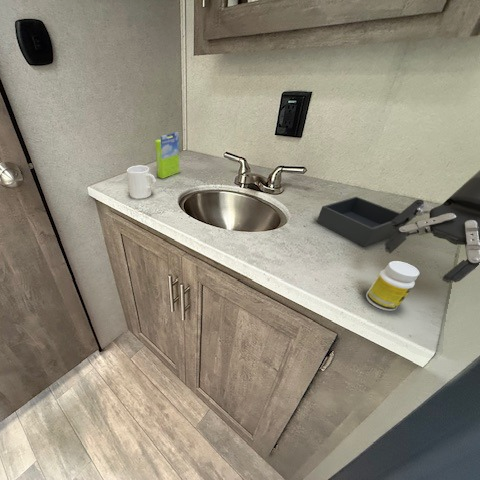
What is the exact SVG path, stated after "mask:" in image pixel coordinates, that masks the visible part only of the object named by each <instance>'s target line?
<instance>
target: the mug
mask: <svg viewBox="0 0 480 480" xmlns="http://www.w3.org/2000/svg"><path fill="white" fill-rule="evenodd" d="M150 171H151V169H150V167H149V166H147V165H144V164H143V165H142V164H141V165H133V166H129V167H128V168H126V176H127V182H128V189H129V195H130V197H131V198H132V199H137V200H138V199H139V200H140V199H141V200H142V199H146V198H148V197H150V196H151V195H152V189H153V188H155V186H156V183H157V180H156V177H155V176H154V175H153V174H152V173H151V172H150ZM151 180H152V181H151ZM151 182H152V183H151Z"/></svg>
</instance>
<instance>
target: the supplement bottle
mask: <svg viewBox="0 0 480 480" xmlns="http://www.w3.org/2000/svg"><path fill="white" fill-rule="evenodd" d="M419 276H420V270H419V269H418V268H417V267H415V266H414V265H412V264H410V263H407V262H405V261H400V260H391V261H390V262H388V264H387V265H386V267H385V268H383V269H381V270H380V271H379V273H378V275H377V276H376V278H375V279H374V281H373V283H372V284H371V285H370V287H369V289H368V290H367V292H366V294H365V297H366V300H367V301H368V302H369V304H371V305H372V306H374V307H376V308H377V309H380V310H383V311H389V312H393V311H395V310H397V309H398V308H399V307H400V305H401V304H402V303H403V301H404V300H405V299H406V297H408V295H409V294H410V292H411V291H412V290H413V289H414V287H415V285H416V280H417V279H418V277H419Z"/></svg>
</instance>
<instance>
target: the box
mask: <svg viewBox="0 0 480 480" xmlns="http://www.w3.org/2000/svg"><path fill="white" fill-rule="evenodd" d="M179 134H180V132H179V131H176V132H173V133H169V134H163V135H160V139H155V140H154V143H155V144H154V145H155V157H156V170H157V177H158V178H160V179H165V178H167V177H170V176H171V177H172V176H173V175H176V174H179V173H180V147H179V146H180V145H179V143H180V142H179V140H180V137H179V136H180V135H179Z"/></svg>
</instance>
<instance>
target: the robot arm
mask: <svg viewBox="0 0 480 480" xmlns="http://www.w3.org/2000/svg"><path fill="white" fill-rule="evenodd" d="M399 213H400V214H399V215H398V216H397V217H395V218H394V219H393V220H392V221H391V224H392V227H393V229H394V230H396V231H397V232H396V233H395V234H394V235H393V236H391V237H388V238H387V240H386V241H385V242H384V250H385V252H387V253H388V254H391V253H393V252H394V251H395V250H396V249H397V248H399V247H400V246H401V245H402V244H403V243H404V242H405V241H406V240H407V238H409V237H415V236H417V235H419V236H424V235H429V234H432V236H433V237H436V238H438V239H441V240H442V239H443V240H445V241H447V242H448V243H450V244H452V245H455V246H458V245H461V246H464V250H465V255H466V256H465V257H466V259H462V260H461V261H460V262H458V263H457V264H456V265H455V266H454V267H453V268H451V269H450V270H449V271H448V272H447V273H445V274H444V275H443V276H442V281H443V282H445V283H446V284H450V283H451V282H453V283H458V282H460V281H461V280H463V279H464V278H465V277H467V276H468V275H469V274H470V273H472V272H473V271H474V270H476V269H475V268H476V267H477V266H478V265H479V263H480V169H479V170H478V171H477V172H476V173H475V174H474V175H472V176H471V177H470V178H469V179H468V180H466V182H464V184H462V186H460V188H458V189H457V190H456V191H455V192H454V193H453V194H451V195H450V196H449V197H448V198H447V199H446V200H445V201H443V203H442V204H439V205H437V206H431V205H429V204H426V203H425V202H424V200H423V199H416V200H414V201H413V202H412V203H411V204H410V205H408V206H407V207H406V208H405V209H404V210H402V211H401V212H399ZM425 214H429V218H426V219H421V220H418V221H415V222H414V223H410V224H409V222H410V221H413V219H414V218H415V217H421V216H423V215H425Z"/></svg>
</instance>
